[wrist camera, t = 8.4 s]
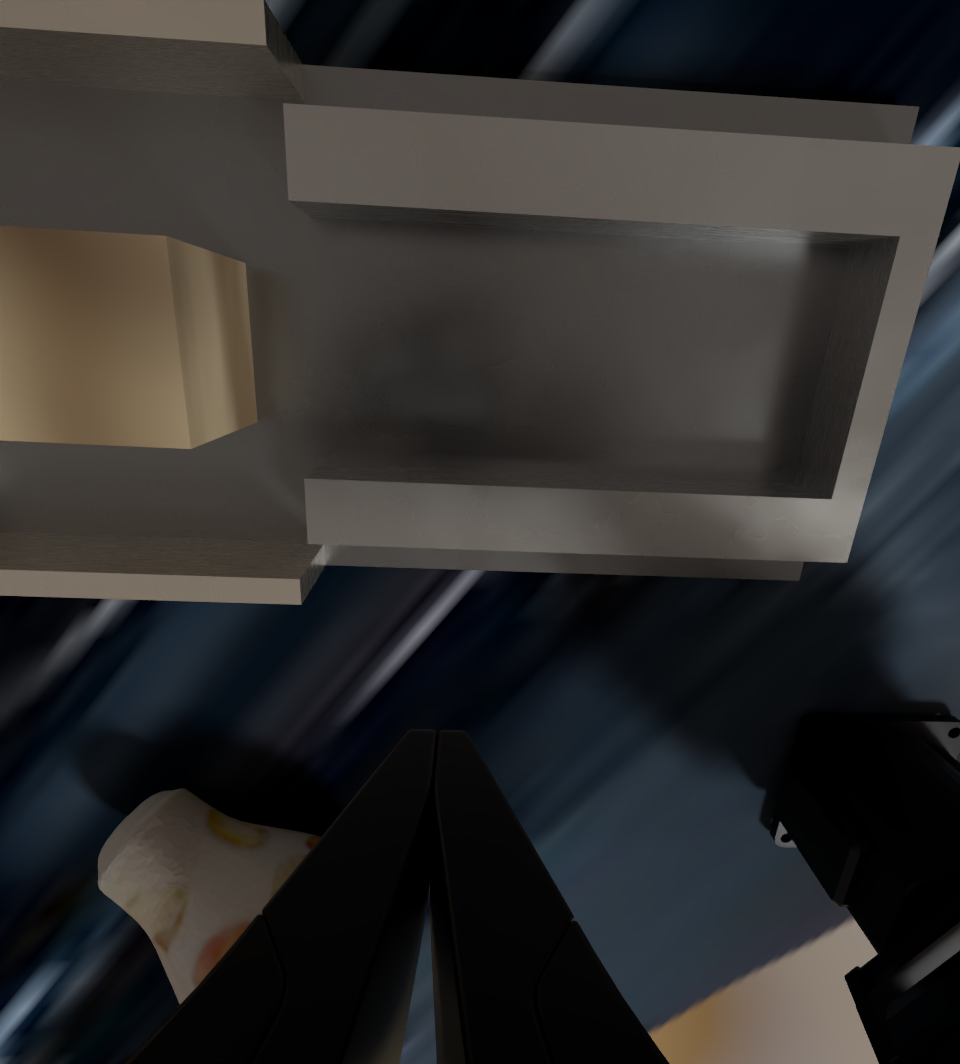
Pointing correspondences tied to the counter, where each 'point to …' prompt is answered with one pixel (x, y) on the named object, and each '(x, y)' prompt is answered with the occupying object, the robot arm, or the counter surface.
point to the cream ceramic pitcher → (195, 878)
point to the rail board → (467, 311)
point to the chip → (121, 340)
